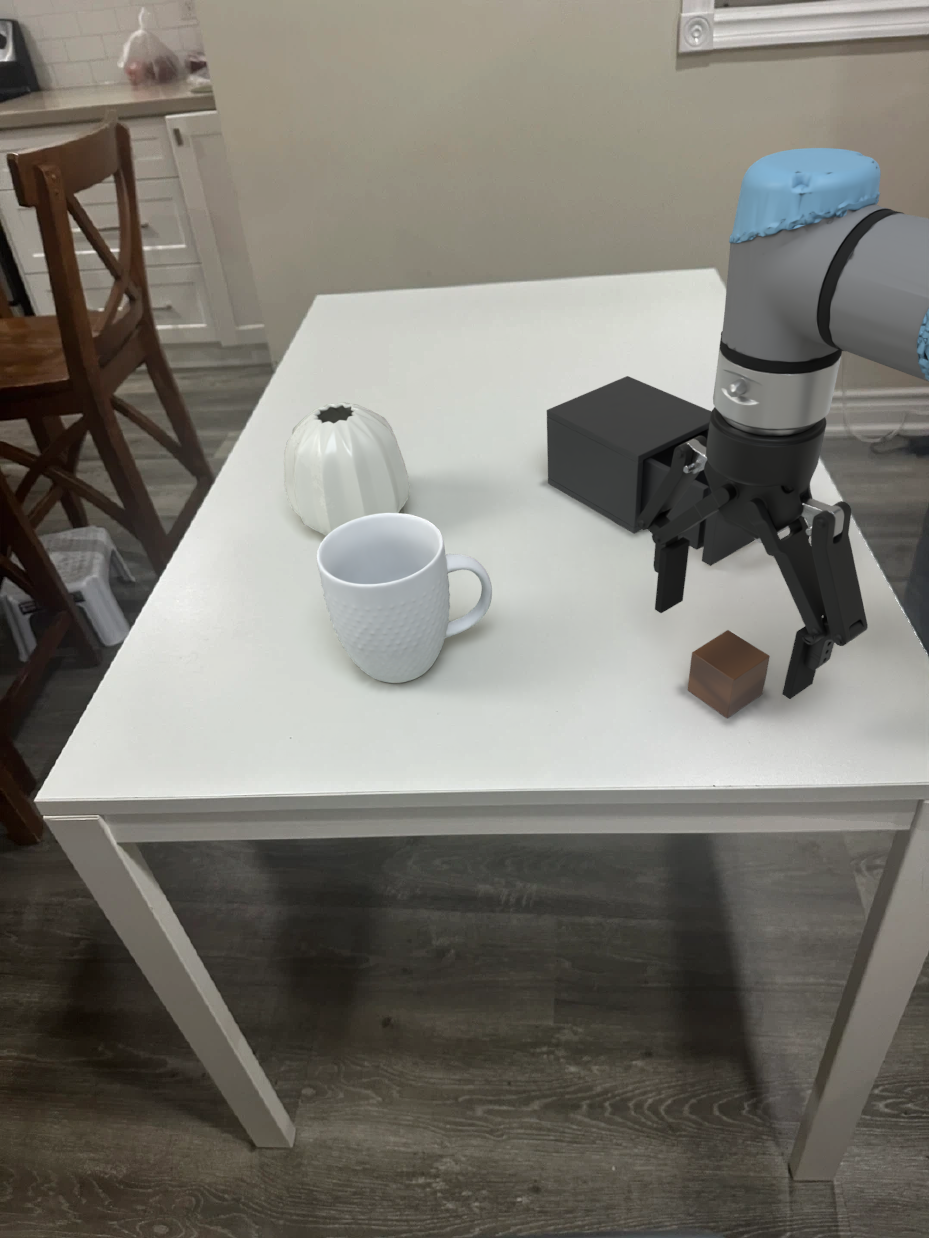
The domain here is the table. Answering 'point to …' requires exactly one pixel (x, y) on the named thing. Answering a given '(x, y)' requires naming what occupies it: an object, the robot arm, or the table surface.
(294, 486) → the vase
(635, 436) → the cabinet
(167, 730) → the table surface
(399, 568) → the mug
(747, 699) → the block
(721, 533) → the drawer
